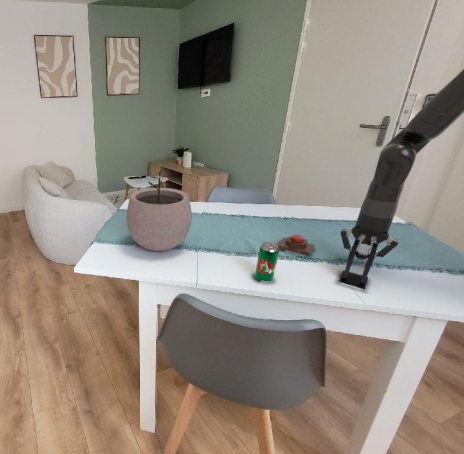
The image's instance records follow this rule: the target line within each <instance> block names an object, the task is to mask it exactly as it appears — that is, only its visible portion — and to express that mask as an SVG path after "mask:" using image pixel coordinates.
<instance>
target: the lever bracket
mask: <svg viewBox="0 0 464 454" xmlns="http://www.w3.org/2000/svg"><path fill="white" fill-rule="evenodd" d="M354 239H355V238H354ZM359 241H360V240H357V239H355V240H354V242H353V244H350V245H351V246H350V249H351V253H350V252H349V253H350V256H349V255H348V256H349V259H348V258H347V262H346V265H345V268H344V270H342V272H341V273H340V274H341V275H340V277H339V279H338V283H341V284H343V285H348V286H352V287H353V288H354V287H355V288H358V289H361V290H366V288H367V285H368V279H369V276H368V275H369V272H370V270H371V267H372V265H373V263H374V261H373V259H374V260H375V258H374V256H375V255H377V254H378V252H379V251H380V250H378V247H379V244H376V243H373V246H372V249H371V248H370V251H371V252H370V251H369V257H368V258H367V259H368V260H367V259H366V262H367V263H366V262H365V265H366V266H365V265H364V268H363V271H362V274H359V273H355V272H351V267H352V265H353V262H354V258H355V257H356V256H355V253H356V251H358V248H359V247H358V244H359ZM357 247H358V248H357ZM372 262H373V263H372ZM371 264H372V265H371Z"/></svg>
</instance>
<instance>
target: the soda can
mask: <svg viewBox="0 0 464 454" xmlns="http://www.w3.org/2000/svg"><path fill="white" fill-rule="evenodd" d="M277 244H278V243H276V242H272V241H264V242H262V243H261V245H260V246H259V250H258V255H257V261H256V266H255V272H254V279H255V280H257V281H258V282H261V281H262V282H272V281H274V276H275V272H276V268H277V264H278V259H279V255H280V250H279V248H278V247H279V246H278V245H277Z"/></svg>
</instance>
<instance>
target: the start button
mask: <svg viewBox="0 0 464 454" xmlns="http://www.w3.org/2000/svg"><path fill="white" fill-rule="evenodd" d="M291 236H292V237H291ZM291 236H290V237H291V241H293V242H296V243H302V242H303V239H305V238H304V236H303V235H299V234H292V235H291Z"/></svg>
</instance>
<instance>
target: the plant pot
mask: <svg viewBox="0 0 464 454" xmlns="http://www.w3.org/2000/svg"><path fill="white" fill-rule="evenodd" d="M161 174H162V169H160V170H159V172H158V176H159V177H157V176H150V178H153V179H157V181H158V183H157V187H156V186H155V184H154V183H152V182H150V181H147V183H148V184H149V185H150V186H153V187H148V188H142V189H138V190H135V191H133V192H132V193H131V194H130V195H129V200H128V204H127V209H126V225H127V229H128V232H129V234H130V237H131V238H132V240H133V241H134V242H135V243H136V244H137V245H139V246H140V247H142V248H144V249H146V250H149V251H153V252H164V251H169V250H172V249H174V248H177V247H178V246H179V245H180V244H182V243H183V242H184V240H185V239H186V237H187V236H188V234H189V232H190V229H191V225H192V220H193V213H192V205H191V200H190V195H189V194H188V193H187V192H185V191H183V190H179V189H176V188H170V187H168V188H167V187H161V185H162V183H163V179H164V178H165V177H166V175H164V176H163V177H162V180H161Z"/></svg>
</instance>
